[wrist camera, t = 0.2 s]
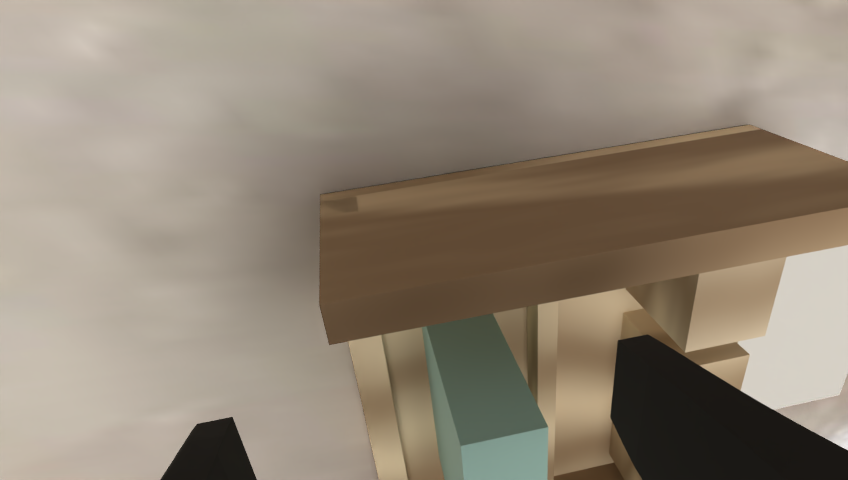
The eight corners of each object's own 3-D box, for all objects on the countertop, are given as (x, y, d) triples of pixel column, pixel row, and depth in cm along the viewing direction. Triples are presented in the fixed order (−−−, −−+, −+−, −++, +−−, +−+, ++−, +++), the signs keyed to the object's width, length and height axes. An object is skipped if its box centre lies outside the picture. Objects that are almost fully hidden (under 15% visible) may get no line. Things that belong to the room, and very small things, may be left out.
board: (489, 445, 24) (545, 606, 18) (438, 456, 24) (478, 623, 18) (479, 285, 20) (548, 427, 14) (417, 297, 20) (460, 446, 14)
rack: (683, 450, 28) (776, 575, 22) (390, 517, 26) (409, 671, 21) (749, 124, 19) (929, 192, 14) (320, 194, 18) (319, 304, 12)
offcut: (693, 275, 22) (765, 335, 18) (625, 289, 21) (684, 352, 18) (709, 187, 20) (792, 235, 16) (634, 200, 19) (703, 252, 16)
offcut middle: (678, 363, 24) (732, 423, 21) (616, 376, 24) (661, 439, 20) (689, 299, 22) (750, 354, 19) (623, 312, 22) (673, 370, 19)
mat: (829, 386, 28) (839, 395, 27) (707, 413, 27) (715, 422, 26) (915, 154, 21) (930, 159, 21) (760, 182, 21) (771, 187, 20)
